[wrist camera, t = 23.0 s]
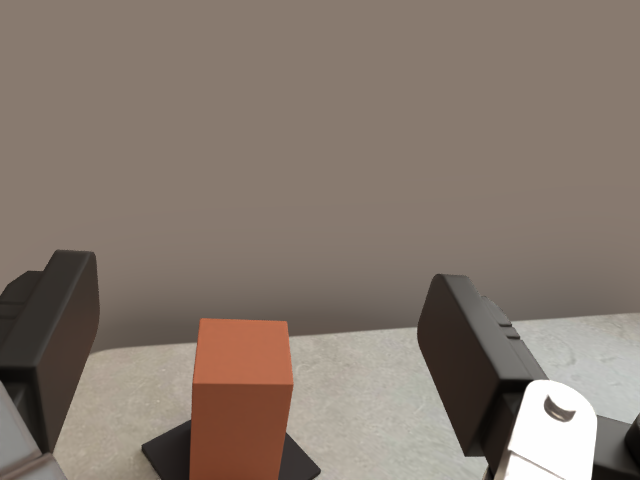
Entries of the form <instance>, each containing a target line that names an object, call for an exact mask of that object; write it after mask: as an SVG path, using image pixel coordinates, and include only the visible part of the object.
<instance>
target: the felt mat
mask: <svg viewBox="0 0 640 480" xmlns="http://www.w3.org/2000/svg"><path fill="white" fill-rule="evenodd" d="M190 445H191V420H189V421H187V422H185V423H183V424H181V425H179V426H178V427H176V428H174V429H172V430H170V431H168V432H166V433H164V434H162V435H160V436H158V437H156V438H154V439H153V440H151V441H149V442H147V443H145V444H143V445H142V450H143V452H144V453H145V455H146V456H147V458H148V459H149V461H150V462H151V464H152V465H153V467H154V468H155V470H156V471H157V473H158V474H159V476H160V477H161V479H162V480H189V477H190ZM320 472H321V469H320V468H319V467H318V466H317V465H316V464H315V463H314V462H313V461H312V460H311V459H310V457H309V456H308V455H307V454H306V453H305V452H304V451H303V450H302V449H301V448H300V447H299V446H298V445H297V443H296V442H295V441H294V440H293V439H292V438H291V437H290V436H289V435H288V434H287V433H285V439H284V445H283V451H282V457H281V463H280V469H279V475H278V480H312V479H313V478H315V477H316V476H317V475H319V474H320Z"/></svg>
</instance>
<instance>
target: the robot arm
mask: <svg viewBox="0 0 640 480" xmlns="http://www.w3.org/2000/svg"><path fill="white" fill-rule="evenodd" d="M99 306H100V305H99V291H98V278H97V264H96V256H95V254H94V252H89V251H73V250H56V251H55V252H54V254H53V255H52V257H51V259H50V260H49V262H48V264H47V266H46V267H45V269H44V271H27V272H26V273H24V274H22V275H21V276H20V277H18V278H17V279H15V280H14V281H12V282H11V283H9V284H8V285H7V287H6V288H5V290H4V291H3V293H2V294H1V296H0V480H67V478H66V476H65V475H64V473H63V471H62V469H61V468H60V466H59V464H58V463H57V461H56V459H55V458H54V457H53V455H52V453H53V450H54V448H55V445H56V442H57V440H58V437H59V434H60V431H61V429H62V426H63V423H64V421H65V418H66V415H67V412H68V410H69V407H70V404H71V401H72V399H73V396H74V393H75V391H76V388H77V385H78V382H79V380H80V377H81V374H82V372H83V369H84V366H85V363H86V361H87V358H88V355H89V353H90V350H91V347H92V344H93V342H94V339H95V336H96V333H97V329H98V323H99V314H100V307H99ZM417 338H418V344H419V347H420V350H421V352H422V354H423V357H424V359H425V362H426V364H427V366H428V369H429V371H430V374H431V376H432V378H433V381H434V383H435V386H436V388H437V391H438V393H439V395H440V398H441V400H442V403H443V405H444V407H445V410H446V412H447V415H448V417H449V419H450V422H451V424H452V427H453V429H454V431H455V434H456V436H457V439H458V441H459V443H460V446H461V448H462V451H463V453H464V455H465V457H481V456H485V458H486V460H487V462H488V464H489V465H488V467H487V469H486V471H485V473H484V475H483V478H482V480H640V413H639V415H638V416H637V418H636V419H635V421H634V422H633V424H628V423H625V422H621V421H617V420H614V419H610V418H606V417H603V416H599V415H596V413H595V411H594V409H593V408H592V406H591V405H590V404H589V403H588V401H587V400H586V399H585V398H584V397H582V396H581V395H580V394H579V393H577V392H576V391H574V390H573V389H571V388H569V387H568V386H566V385H563V384H561V383H558V382H555V381H550V380H549V379H548V377H547V376H546V374H545V373H544V371H543V370H542V368H541V367H540V365H539V364H538V362H537V361H536V359H535V358H534V357H533V355H532V354H531V352H530V351H529V349H528V348H527V346H526V345H525V343H524V342H523V340H520V336H519V334H518V333H517V331H516V330H515V328H513V327H512V324H511V322H510V321H509V319H508V318H507V317H506V315H505V313H504V312H503V310H502V309H501V308H499V307H498V306H497V305H496V304H494V303H493V302H492V301H491V300H490V299H488V298H487V297H486V296H480V294H479V293H478V291H477V290H476V288H475V286H474V285H473V283H472V282H471V280H470V279H469V277H467V276H464V275H448V274H447V275H446V274H437V275H435V276H434V277H433V279H432V282H431V285H430V288H429V291H428V294H427V297H426V300H425V304H424V307H423V309H422V313H421V316H420V319H419V322H418V328H417Z"/></svg>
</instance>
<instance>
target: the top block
mask: <svg viewBox="0 0 640 480" xmlns="http://www.w3.org/2000/svg"><path fill="white" fill-rule="evenodd" d="M293 385H294V384H293V374H292V365H291V355H290V346H289V337H288V327H287V322H286V321H263V320H233V319H205V318H203V319H202V318H201V319H200V323H199V332H198V341H197V349H196V357H195V366H194V374H193V383H192V413H191V445H190V477H189V480H278V475H279V469H280V463H281V457H282V451H283V445H284V439H285V433H286V427H287V421H288V415H289V409H290V403H291V397H292V391H293Z"/></svg>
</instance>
